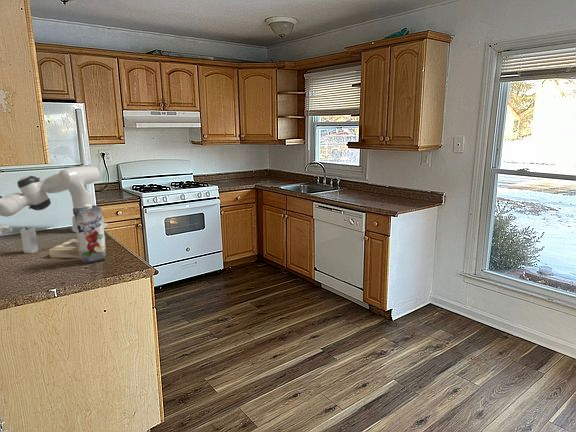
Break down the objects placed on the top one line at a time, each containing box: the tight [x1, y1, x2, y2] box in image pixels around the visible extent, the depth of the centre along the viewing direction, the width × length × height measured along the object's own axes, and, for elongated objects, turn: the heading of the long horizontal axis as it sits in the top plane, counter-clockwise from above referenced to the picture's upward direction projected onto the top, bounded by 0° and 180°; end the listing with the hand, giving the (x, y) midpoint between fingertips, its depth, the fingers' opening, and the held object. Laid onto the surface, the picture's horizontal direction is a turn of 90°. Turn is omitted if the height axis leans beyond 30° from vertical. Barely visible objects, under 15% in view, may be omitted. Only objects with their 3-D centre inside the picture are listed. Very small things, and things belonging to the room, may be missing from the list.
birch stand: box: [48, 238, 81, 259], centre depth 201 cm, size 18×16×8 cm
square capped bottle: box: [19, 225, 39, 254], centre depth 202 cm, size 4×4×13 cm
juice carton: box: [74, 204, 107, 265], centre depth 186 cm, size 9×10×27 cm
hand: (4, 232), depth 202 cm, fingers open, 8 cm apart
